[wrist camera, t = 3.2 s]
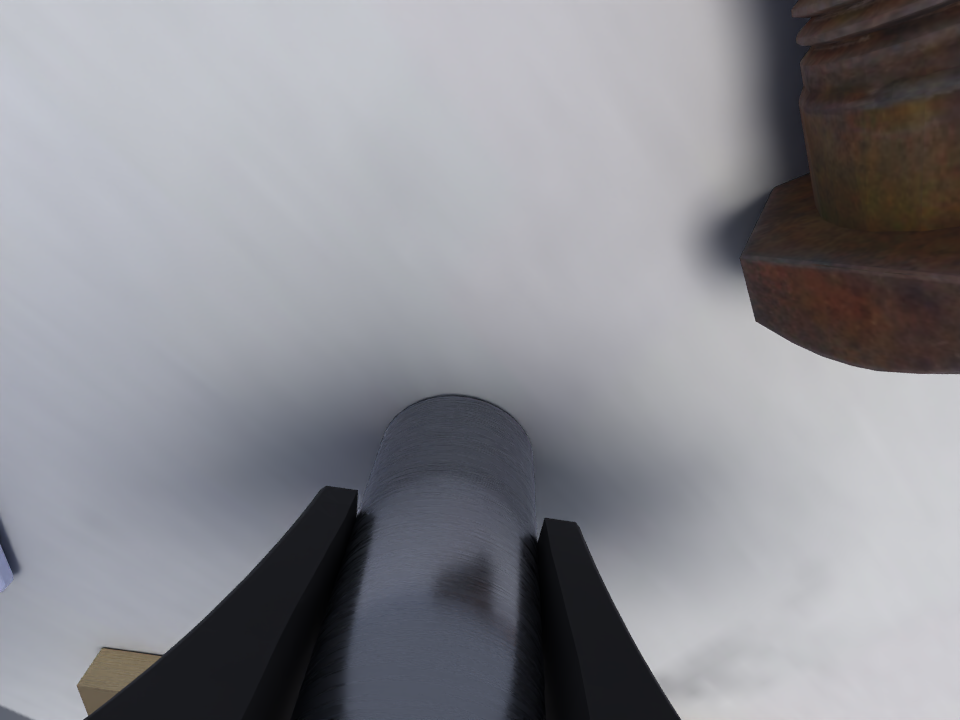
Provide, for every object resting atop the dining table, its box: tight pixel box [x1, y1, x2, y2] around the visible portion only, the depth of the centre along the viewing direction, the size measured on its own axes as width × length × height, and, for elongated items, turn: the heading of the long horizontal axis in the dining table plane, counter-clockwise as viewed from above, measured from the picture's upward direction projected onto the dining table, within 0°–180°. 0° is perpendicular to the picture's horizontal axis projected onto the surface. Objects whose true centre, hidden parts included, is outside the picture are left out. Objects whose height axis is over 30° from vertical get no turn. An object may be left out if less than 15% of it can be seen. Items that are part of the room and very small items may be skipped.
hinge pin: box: [290, 396, 546, 720], centre depth 10 cm, size 4×4×8 cm
